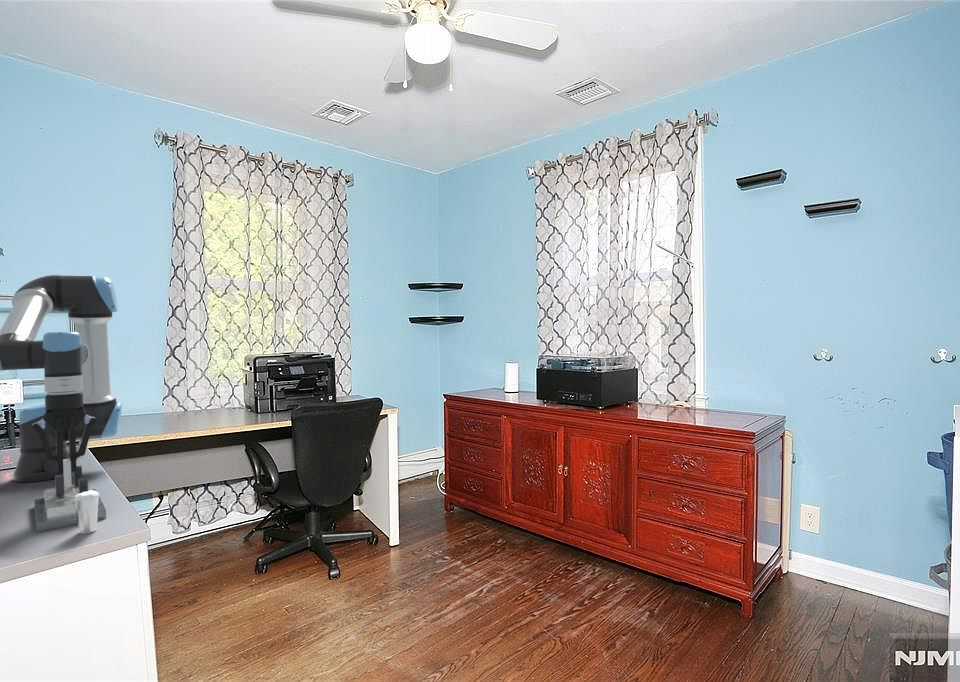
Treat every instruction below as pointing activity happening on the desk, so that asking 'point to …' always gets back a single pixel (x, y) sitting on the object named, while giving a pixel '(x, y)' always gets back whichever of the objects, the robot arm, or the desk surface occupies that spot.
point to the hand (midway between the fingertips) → (67, 485)
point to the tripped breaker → (59, 485)
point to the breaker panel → (61, 520)
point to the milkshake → (86, 511)
